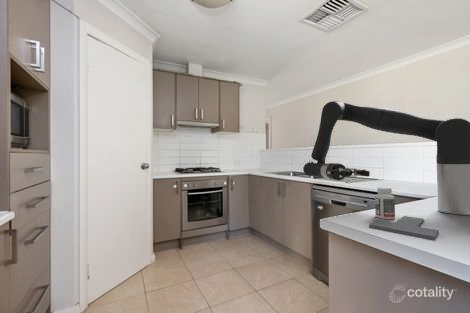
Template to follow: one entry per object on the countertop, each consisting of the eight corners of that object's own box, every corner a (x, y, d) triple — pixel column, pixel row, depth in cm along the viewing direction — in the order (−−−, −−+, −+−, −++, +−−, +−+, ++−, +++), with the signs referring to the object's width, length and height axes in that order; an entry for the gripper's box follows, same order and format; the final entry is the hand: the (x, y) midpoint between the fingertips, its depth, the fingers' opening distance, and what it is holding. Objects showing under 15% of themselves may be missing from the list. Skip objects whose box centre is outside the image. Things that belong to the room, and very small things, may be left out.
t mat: (387, 215, 75) (387, 213, 75) (443, 224, 65) (443, 221, 65) (369, 227, 63) (369, 224, 63) (434, 239, 53) (434, 236, 53)
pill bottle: (396, 217, 73) (396, 188, 73) (393, 220, 69) (392, 189, 70) (377, 214, 77) (377, 186, 77) (373, 217, 73) (372, 188, 73)
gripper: (318, 163, 99) (342, 164, 83) (346, 163, 102) (375, 163, 86) (318, 180, 99) (342, 184, 83) (347, 179, 102) (375, 183, 86)
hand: (359, 173), depth 84 cm, fingers open, 8 cm apart
